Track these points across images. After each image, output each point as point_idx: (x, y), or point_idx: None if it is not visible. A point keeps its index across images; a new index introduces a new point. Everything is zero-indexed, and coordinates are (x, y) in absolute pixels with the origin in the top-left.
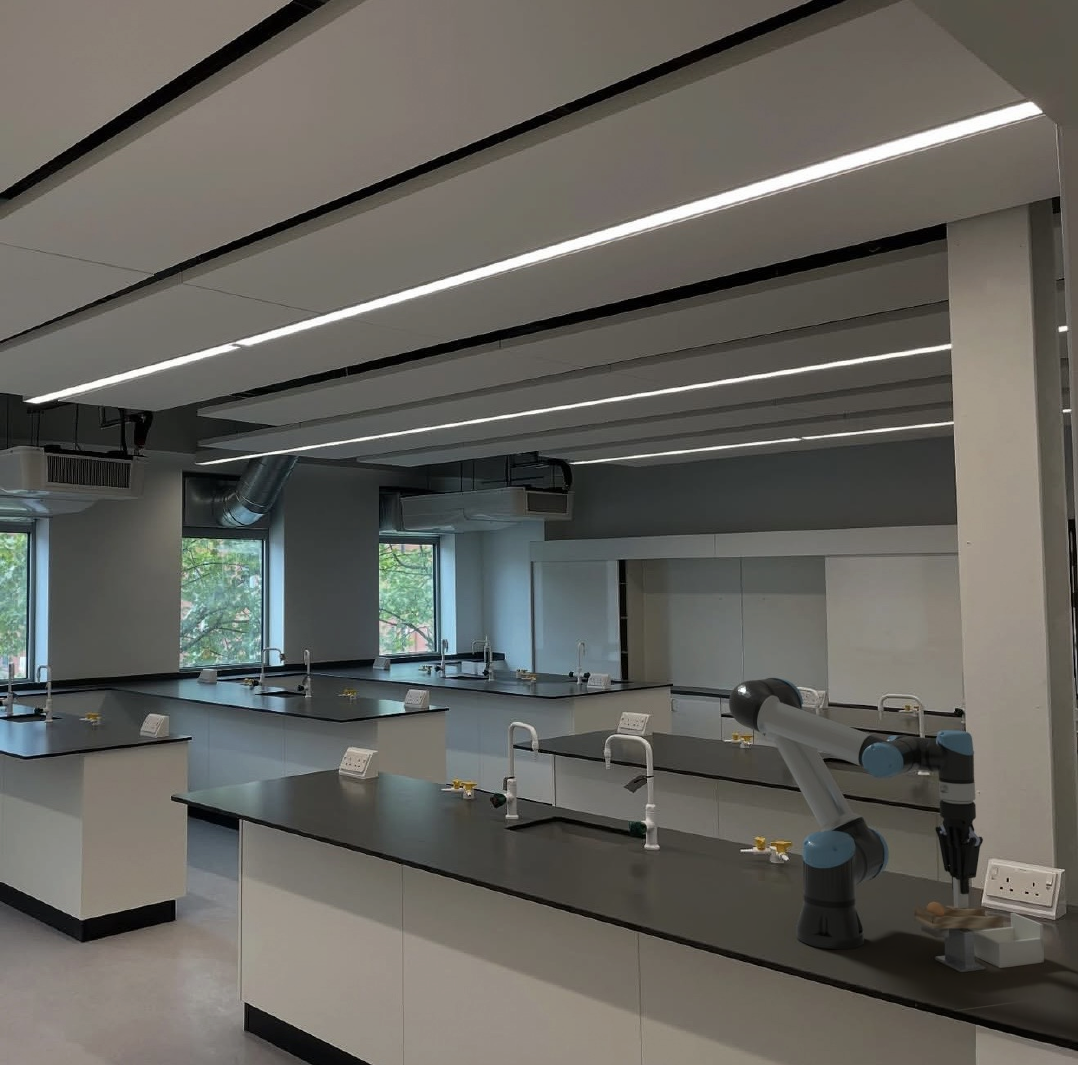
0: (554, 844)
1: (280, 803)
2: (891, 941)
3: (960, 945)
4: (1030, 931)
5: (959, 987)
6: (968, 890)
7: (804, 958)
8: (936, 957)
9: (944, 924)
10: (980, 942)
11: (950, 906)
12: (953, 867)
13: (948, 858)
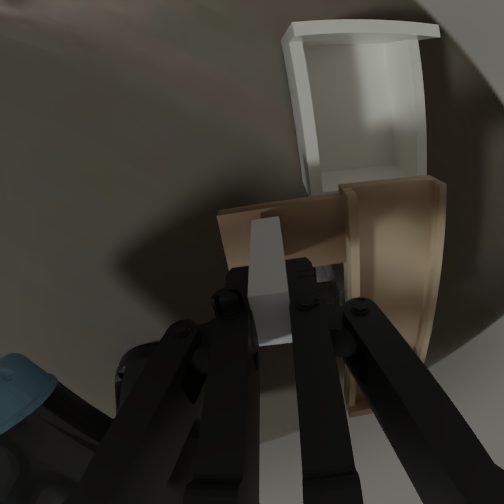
0: None
1: None
2: (183, 305)
3: None
4: (384, 37)
5: (439, 298)
6: (311, 268)
7: (260, 424)
8: (320, 281)
9: None
10: None
11: (238, 262)
12: (258, 384)
13: (186, 410)
